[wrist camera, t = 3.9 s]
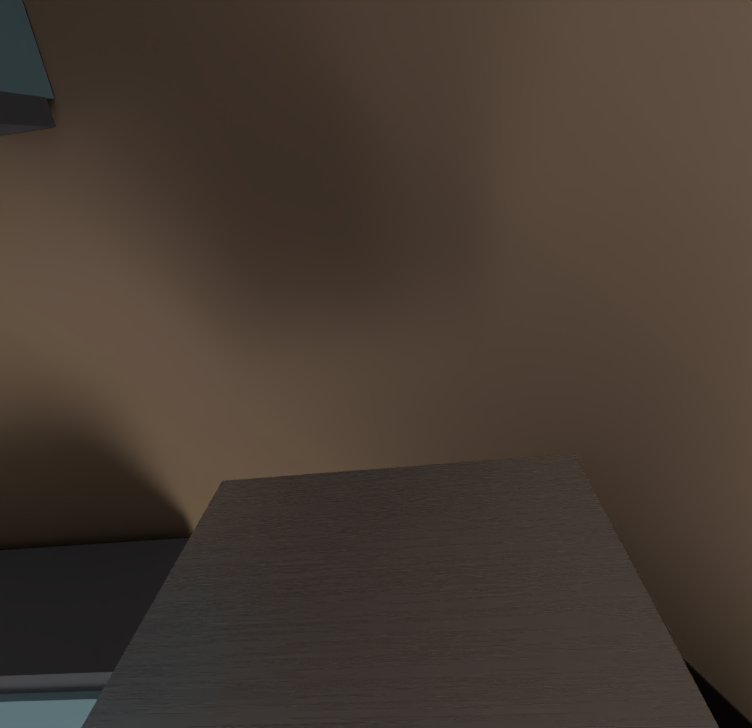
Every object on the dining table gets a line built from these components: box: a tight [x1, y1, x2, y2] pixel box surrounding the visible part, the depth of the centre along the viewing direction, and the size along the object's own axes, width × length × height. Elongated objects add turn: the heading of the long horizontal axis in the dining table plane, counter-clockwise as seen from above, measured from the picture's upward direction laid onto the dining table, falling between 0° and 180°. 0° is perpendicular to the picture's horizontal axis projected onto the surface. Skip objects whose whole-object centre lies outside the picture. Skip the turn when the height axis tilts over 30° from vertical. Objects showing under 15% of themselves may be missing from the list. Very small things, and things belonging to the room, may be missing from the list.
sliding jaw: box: [0, 538, 189, 728], centre depth 16 cm, size 12×8×5 cm, turn 98°
